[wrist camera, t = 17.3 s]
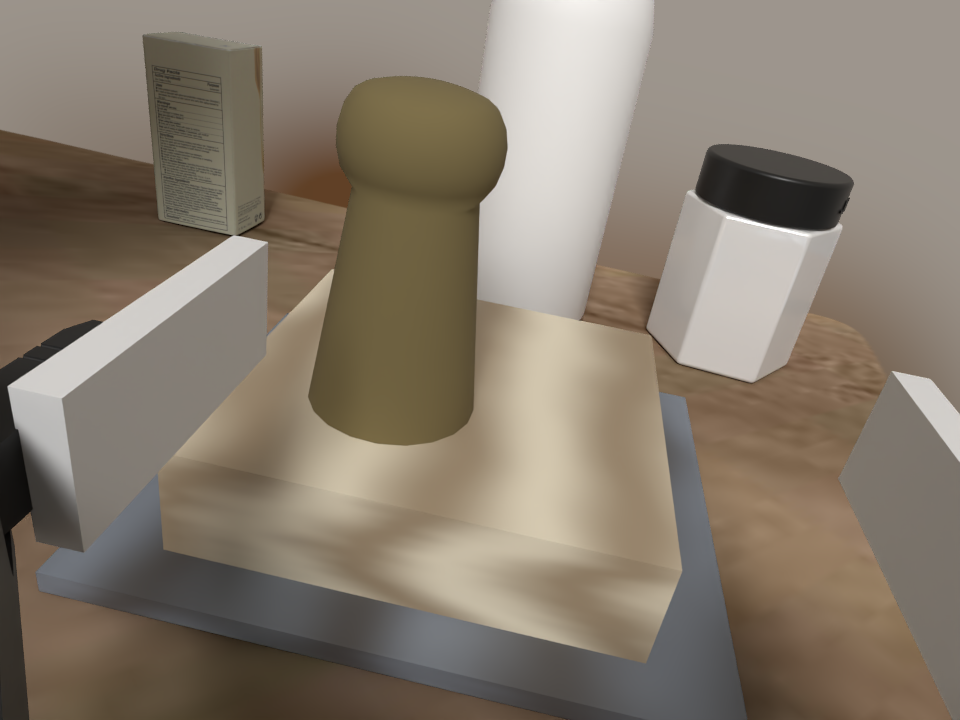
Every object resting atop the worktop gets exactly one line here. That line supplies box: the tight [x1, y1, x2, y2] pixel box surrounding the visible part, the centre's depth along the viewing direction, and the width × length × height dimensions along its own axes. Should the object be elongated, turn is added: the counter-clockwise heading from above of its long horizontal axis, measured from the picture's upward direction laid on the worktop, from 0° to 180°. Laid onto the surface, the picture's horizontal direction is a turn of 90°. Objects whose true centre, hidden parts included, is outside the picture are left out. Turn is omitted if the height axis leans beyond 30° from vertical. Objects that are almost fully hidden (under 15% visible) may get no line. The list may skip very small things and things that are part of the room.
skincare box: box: [143, 32, 264, 236], centre depth 49 cm, size 6×4×12 cm
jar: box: [646, 144, 854, 383], centre depth 44 cm, size 9×8×12 cm
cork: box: [308, 76, 508, 446], centre depth 24 cm, size 6×6×11 cm
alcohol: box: [477, 0, 654, 320], centre depth 40 cm, size 9×9×30 cm
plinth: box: [36, 269, 747, 720], centre depth 29 cm, size 22×20×5 cm
